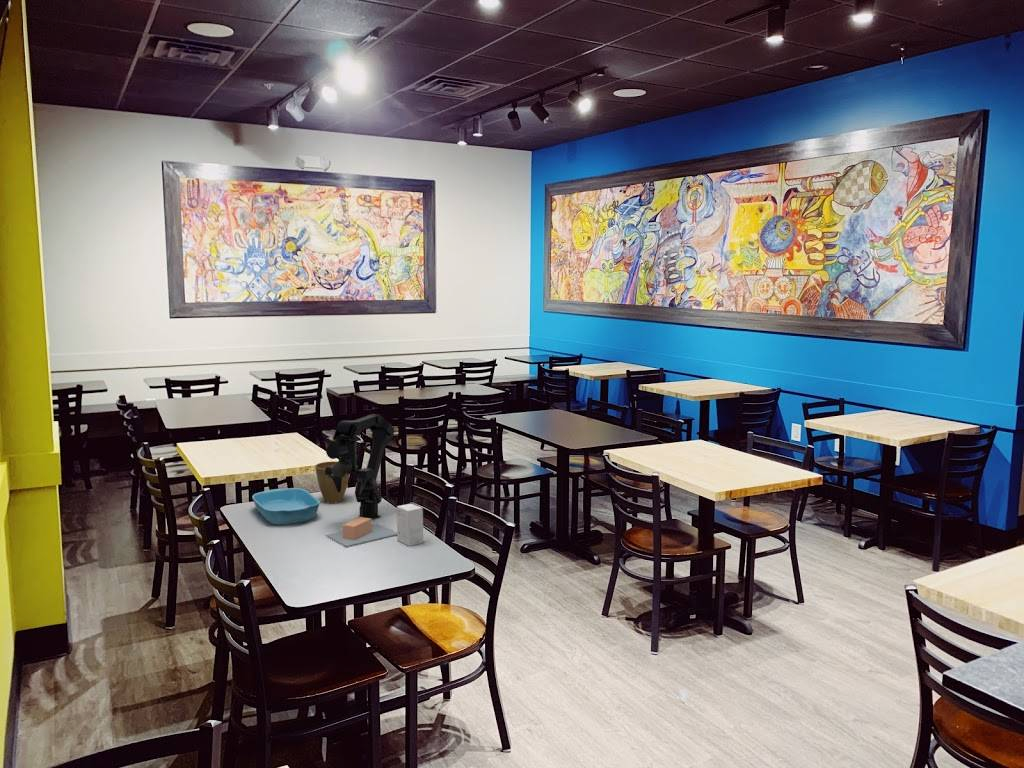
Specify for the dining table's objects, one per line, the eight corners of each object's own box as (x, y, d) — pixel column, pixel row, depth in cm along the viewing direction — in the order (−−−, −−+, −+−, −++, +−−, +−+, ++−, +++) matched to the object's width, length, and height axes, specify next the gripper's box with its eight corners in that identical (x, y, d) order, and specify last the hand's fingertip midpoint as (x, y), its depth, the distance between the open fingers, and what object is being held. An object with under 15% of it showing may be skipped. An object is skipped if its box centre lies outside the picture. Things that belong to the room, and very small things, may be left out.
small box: (423, 542, 282) (423, 507, 280) (408, 546, 278) (408, 511, 276) (411, 537, 288) (411, 502, 286) (396, 540, 284) (396, 505, 282)
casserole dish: (247, 507, 326) (246, 491, 325) (300, 500, 337) (300, 484, 336) (269, 531, 294) (268, 513, 294) (327, 522, 306) (326, 505, 305)
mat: (377, 524, 302) (377, 523, 302) (399, 535, 290) (399, 533, 290) (325, 536, 288) (325, 534, 288) (346, 547, 276) (346, 545, 276)
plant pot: (311, 505, 328) (310, 468, 326) (321, 496, 343) (320, 460, 341) (346, 506, 327) (345, 469, 326) (355, 496, 342) (354, 461, 340)
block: (360, 516, 294) (342, 524, 284) (371, 518, 292) (354, 526, 282) (360, 529, 294) (342, 538, 284) (371, 531, 292) (354, 540, 282)
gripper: (315, 455, 293) (316, 496, 295) (357, 460, 286) (358, 501, 288) (332, 450, 303) (333, 489, 305) (373, 454, 296) (374, 494, 298)
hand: (349, 493), depth 299 cm, fingers open, 9 cm apart
